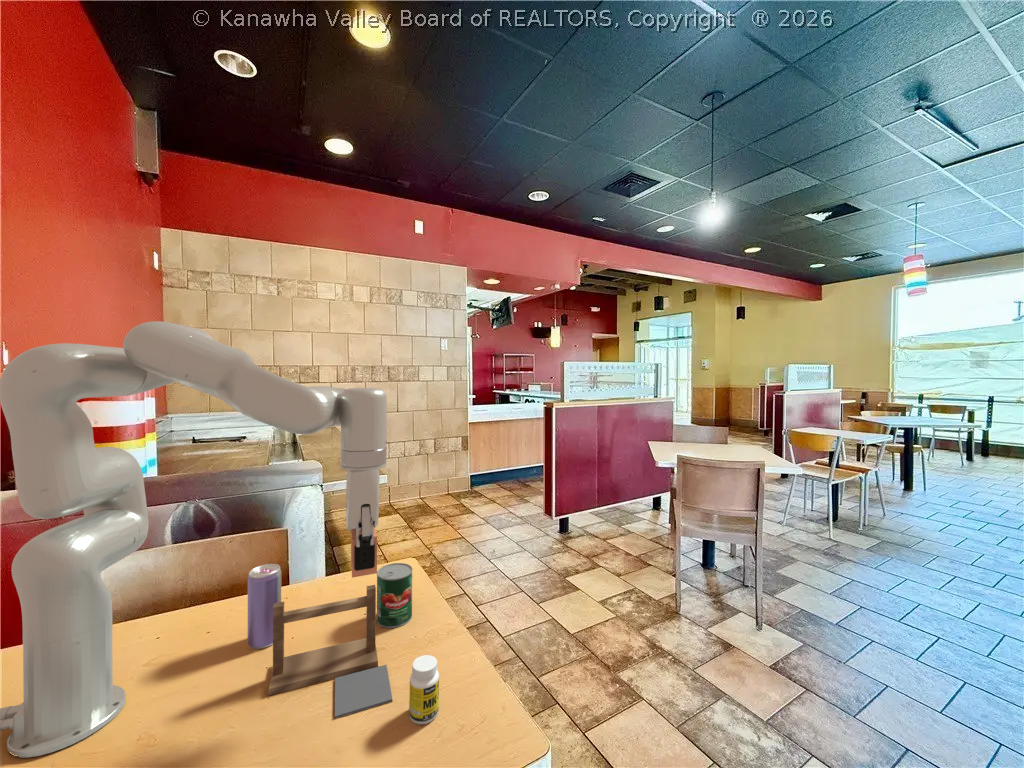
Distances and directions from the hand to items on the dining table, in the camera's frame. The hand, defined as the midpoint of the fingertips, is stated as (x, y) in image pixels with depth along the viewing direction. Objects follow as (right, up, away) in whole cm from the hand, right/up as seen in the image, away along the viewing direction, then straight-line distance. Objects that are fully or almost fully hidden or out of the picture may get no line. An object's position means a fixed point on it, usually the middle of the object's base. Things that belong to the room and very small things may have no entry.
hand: (363, 560), depth 71 cm
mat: (0, -23, 0) cm, 23 cm away
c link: (0, -2, 0) cm, 2 cm away
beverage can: (-26, -23, +13) cm, 37 cm away
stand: (-9, -23, +6) cm, 26 cm away
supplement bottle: (+12, -24, -4) cm, 27 cm away
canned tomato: (-1, -23, +22) cm, 32 cm away
